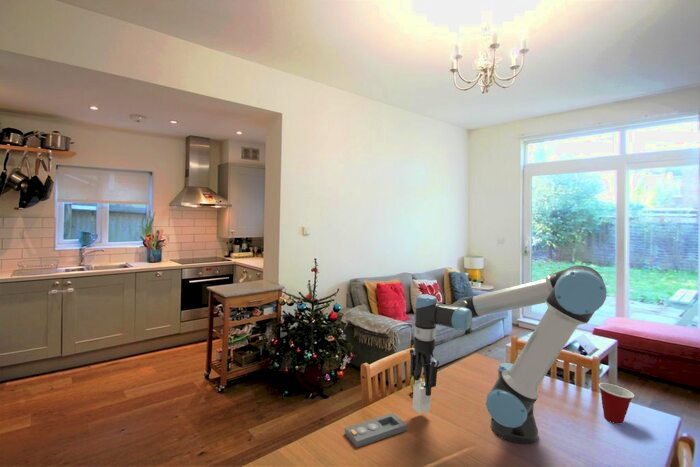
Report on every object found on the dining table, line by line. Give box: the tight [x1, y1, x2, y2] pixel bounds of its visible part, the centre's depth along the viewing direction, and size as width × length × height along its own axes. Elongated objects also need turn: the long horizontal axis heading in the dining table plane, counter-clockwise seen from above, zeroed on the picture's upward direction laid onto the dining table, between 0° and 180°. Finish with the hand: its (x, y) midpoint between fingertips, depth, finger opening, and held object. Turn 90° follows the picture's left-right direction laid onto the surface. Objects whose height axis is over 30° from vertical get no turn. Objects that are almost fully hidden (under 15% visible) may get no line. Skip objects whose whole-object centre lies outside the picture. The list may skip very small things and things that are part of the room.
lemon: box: [409, 376, 424, 391], centre depth 148 cm, size 6×6×8 cm
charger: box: [412, 381, 432, 414], centre depth 129 cm, size 4×5×10 cm
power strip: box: [344, 412, 408, 448], centre depth 119 cm, size 8×20×4 cm, turn 119°
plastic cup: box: [598, 382, 635, 424], centre depth 132 cm, size 11×11×12 cm
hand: (421, 399), depth 129 cm, fingers closed on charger, 4 cm apart
